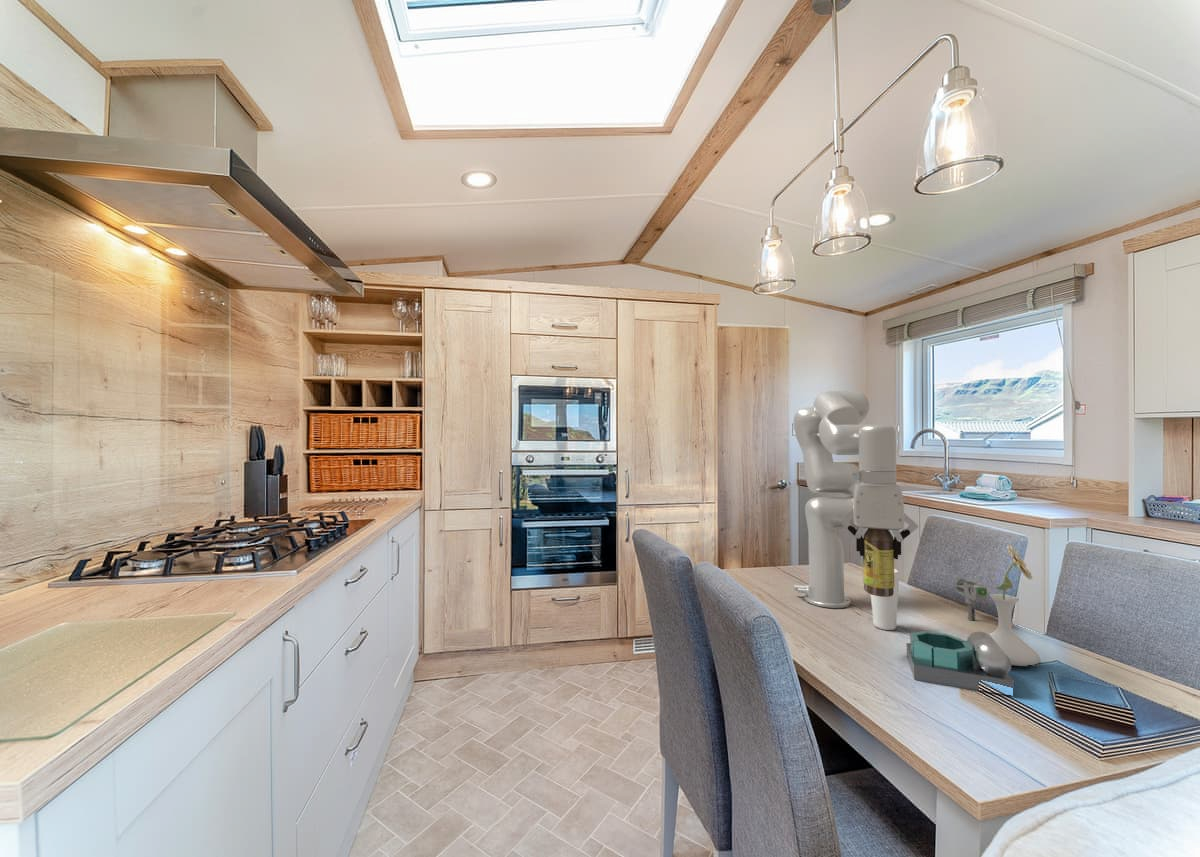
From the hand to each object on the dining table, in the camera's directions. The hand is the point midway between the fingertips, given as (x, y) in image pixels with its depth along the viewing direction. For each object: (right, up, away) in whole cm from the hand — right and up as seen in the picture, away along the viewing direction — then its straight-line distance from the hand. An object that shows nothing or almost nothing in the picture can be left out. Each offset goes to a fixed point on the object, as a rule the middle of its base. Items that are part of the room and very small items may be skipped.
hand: (878, 555), depth 113 cm
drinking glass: (+10, -23, +15) cm, 29 cm away
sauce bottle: (0, -9, 0) cm, 9 cm away
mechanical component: (+37, -23, +20) cm, 47 cm away
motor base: (+10, -22, -11) cm, 26 cm away
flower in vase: (+26, -22, -4) cm, 35 cm away
